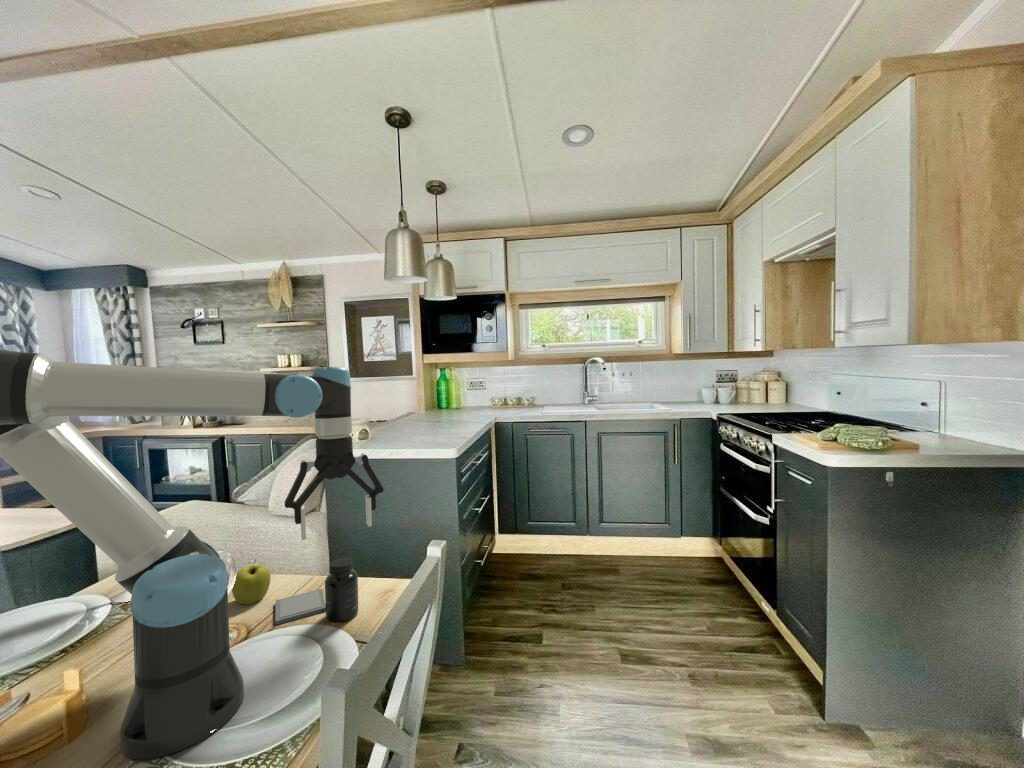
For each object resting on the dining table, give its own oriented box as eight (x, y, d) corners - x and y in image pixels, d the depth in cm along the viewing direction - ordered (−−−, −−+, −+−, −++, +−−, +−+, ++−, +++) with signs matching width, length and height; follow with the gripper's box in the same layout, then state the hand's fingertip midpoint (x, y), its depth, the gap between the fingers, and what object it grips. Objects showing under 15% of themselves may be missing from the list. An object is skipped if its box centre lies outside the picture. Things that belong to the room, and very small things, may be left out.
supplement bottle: (318, 621, 90) (316, 567, 89) (340, 605, 96) (338, 554, 96) (344, 626, 87) (343, 570, 87) (365, 609, 94) (363, 557, 94)
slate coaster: (326, 610, 94) (325, 607, 94) (275, 624, 89) (275, 620, 89) (321, 591, 102) (321, 588, 102) (275, 603, 97) (275, 599, 97)
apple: (233, 591, 102) (245, 551, 102) (268, 596, 104) (280, 557, 104) (219, 608, 94) (233, 565, 95) (257, 613, 96) (270, 571, 97)
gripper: (386, 429, 101) (389, 515, 101) (269, 440, 88) (272, 538, 89) (394, 432, 95) (397, 524, 95) (269, 444, 82) (273, 549, 82)
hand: (337, 531), depth 92 cm, fingers open, 13 cm apart
